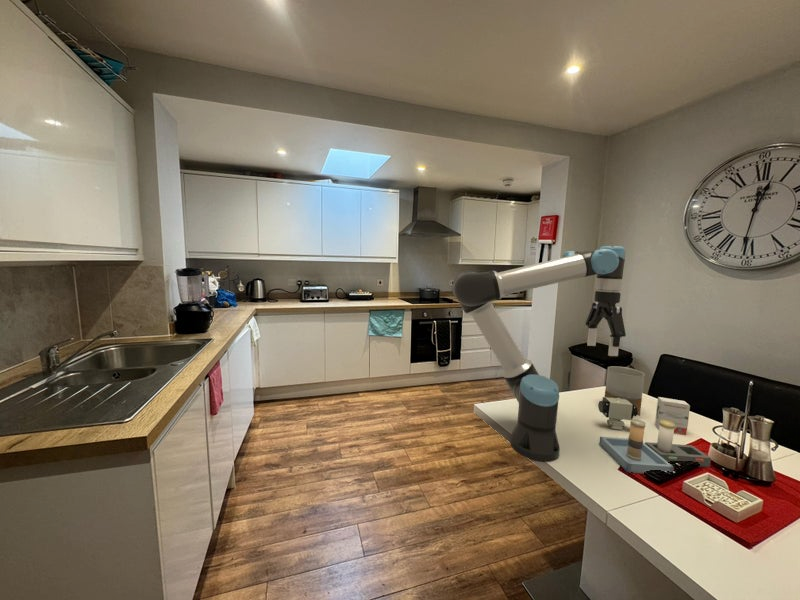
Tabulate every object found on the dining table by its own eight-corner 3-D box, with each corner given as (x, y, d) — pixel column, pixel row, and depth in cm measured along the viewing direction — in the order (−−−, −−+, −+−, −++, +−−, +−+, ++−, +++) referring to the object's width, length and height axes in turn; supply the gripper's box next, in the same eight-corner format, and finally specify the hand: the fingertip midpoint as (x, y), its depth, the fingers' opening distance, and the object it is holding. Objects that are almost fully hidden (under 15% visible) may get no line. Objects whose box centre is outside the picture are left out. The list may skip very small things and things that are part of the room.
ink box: (681, 429, 122) (685, 400, 121) (686, 435, 117) (691, 405, 116) (653, 424, 125) (657, 395, 124) (657, 429, 121) (661, 400, 120)
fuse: (660, 460, 101) (665, 425, 100) (652, 453, 105) (656, 419, 103) (673, 461, 101) (678, 426, 99) (664, 454, 104) (669, 420, 103)
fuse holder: (660, 464, 99) (661, 455, 99) (643, 450, 106) (645, 442, 106) (710, 467, 98) (712, 458, 98) (690, 453, 105) (692, 445, 105)
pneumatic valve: (635, 432, 118) (639, 402, 117) (601, 428, 120) (604, 398, 119) (627, 425, 123) (631, 396, 122) (595, 421, 126) (598, 392, 124)
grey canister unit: (604, 401, 146) (608, 364, 144) (639, 409, 138) (644, 370, 136) (602, 411, 135) (607, 371, 133) (640, 420, 128) (645, 378, 126)
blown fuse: (631, 460, 100) (635, 424, 98) (623, 453, 103) (627, 418, 102) (643, 461, 99) (648, 425, 98) (635, 454, 103) (640, 419, 102)
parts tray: (627, 472, 94) (628, 463, 94) (599, 444, 109) (600, 436, 109) (672, 475, 94) (673, 466, 93) (638, 447, 108) (639, 439, 108)
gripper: (644, 294, 97) (635, 361, 100) (599, 288, 122) (593, 342, 124) (618, 293, 98) (611, 360, 100) (579, 288, 123) (573, 341, 125)
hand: (601, 350), depth 112 cm, fingers open, 13 cm apart
